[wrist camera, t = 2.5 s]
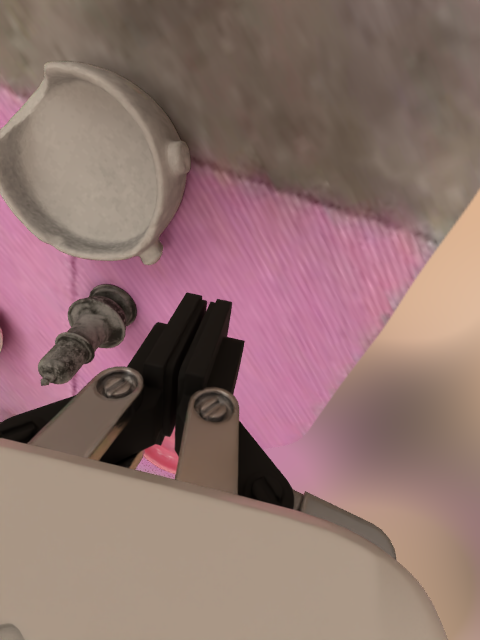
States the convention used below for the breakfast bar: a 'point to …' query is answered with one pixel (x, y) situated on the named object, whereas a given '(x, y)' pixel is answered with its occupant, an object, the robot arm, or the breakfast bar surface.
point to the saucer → (164, 454)
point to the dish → (93, 165)
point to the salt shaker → (88, 332)
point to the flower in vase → (1, 339)
